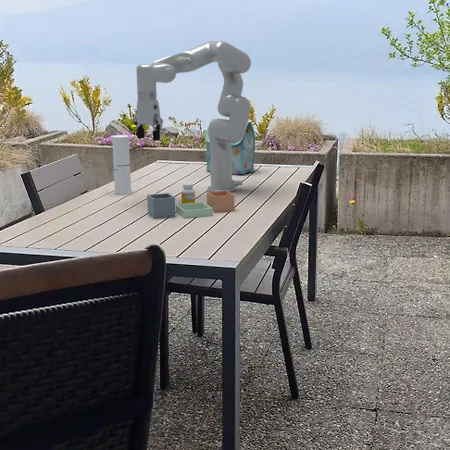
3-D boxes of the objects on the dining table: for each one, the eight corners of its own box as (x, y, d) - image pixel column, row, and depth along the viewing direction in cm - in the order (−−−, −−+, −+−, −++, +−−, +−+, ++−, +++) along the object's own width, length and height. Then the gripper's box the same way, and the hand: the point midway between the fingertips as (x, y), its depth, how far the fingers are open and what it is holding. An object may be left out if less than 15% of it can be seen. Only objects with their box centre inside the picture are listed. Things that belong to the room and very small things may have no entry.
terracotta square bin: (226, 207, 271) (226, 190, 269) (234, 212, 263) (234, 194, 261) (206, 209, 268) (206, 192, 266) (214, 214, 260) (214, 196, 258)
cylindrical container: (128, 194, 295) (125, 137, 288) (112, 194, 296) (109, 137, 290) (133, 191, 302) (131, 135, 295) (118, 190, 303) (115, 135, 297)
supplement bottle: (181, 206, 273) (180, 182, 271) (194, 206, 274) (194, 182, 271) (181, 209, 268) (181, 185, 266) (195, 209, 269) (195, 185, 266)
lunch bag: (202, 172, 345) (201, 119, 338) (219, 167, 358) (219, 116, 351) (241, 176, 333) (241, 121, 326) (257, 171, 347) (258, 118, 340)
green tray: (203, 210, 266) (202, 202, 265) (212, 217, 255) (212, 208, 254) (175, 213, 262) (175, 204, 261) (184, 220, 252) (184, 210, 251)
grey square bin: (169, 213, 262) (168, 193, 260) (175, 218, 255) (174, 197, 253) (147, 215, 259) (147, 194, 257) (153, 220, 252) (153, 199, 250)
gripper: (168, 96, 266) (169, 140, 270) (140, 94, 277) (142, 136, 282) (154, 98, 261) (155, 142, 265) (125, 95, 272) (127, 138, 277)
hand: (148, 139), depth 274 cm, fingers open, 9 cm apart
